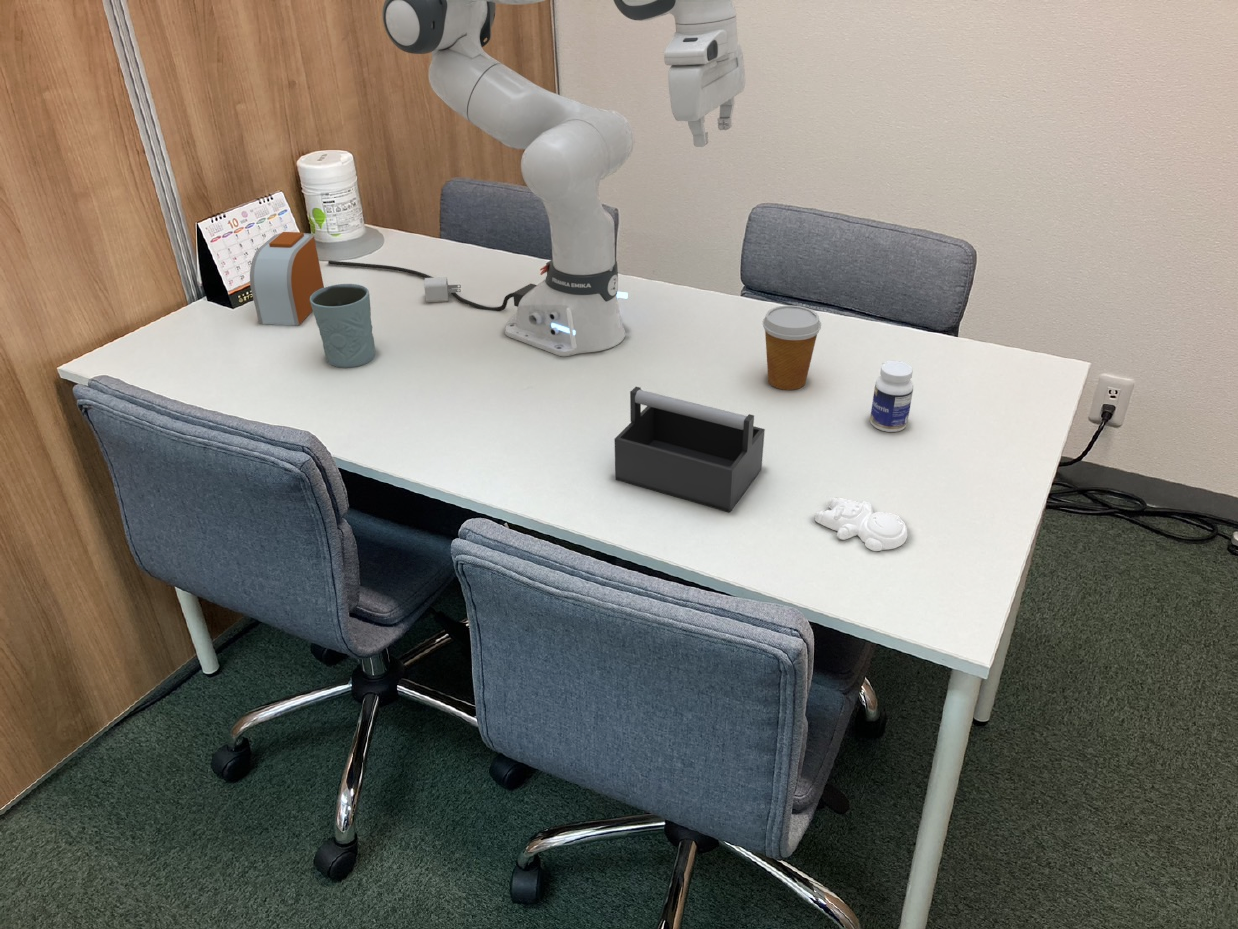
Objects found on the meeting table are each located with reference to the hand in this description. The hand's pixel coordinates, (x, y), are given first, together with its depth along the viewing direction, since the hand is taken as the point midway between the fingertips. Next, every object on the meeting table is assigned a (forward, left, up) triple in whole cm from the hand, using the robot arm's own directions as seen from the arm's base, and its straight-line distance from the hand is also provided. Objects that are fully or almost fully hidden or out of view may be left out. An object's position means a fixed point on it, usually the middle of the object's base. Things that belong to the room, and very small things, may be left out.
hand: (713, 137), depth 151 cm
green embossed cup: (-58, -25, -39) cm, 75 cm away
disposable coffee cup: (+15, +1, -39) cm, 42 cm away
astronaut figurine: (+38, -33, -39) cm, 64 cm away
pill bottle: (+34, -5, -39) cm, 52 cm away
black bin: (+12, -32, -39) cm, 52 cm away
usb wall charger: (-58, +3, -39) cm, 70 cm away
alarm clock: (-82, -14, -39) cm, 92 cm away
